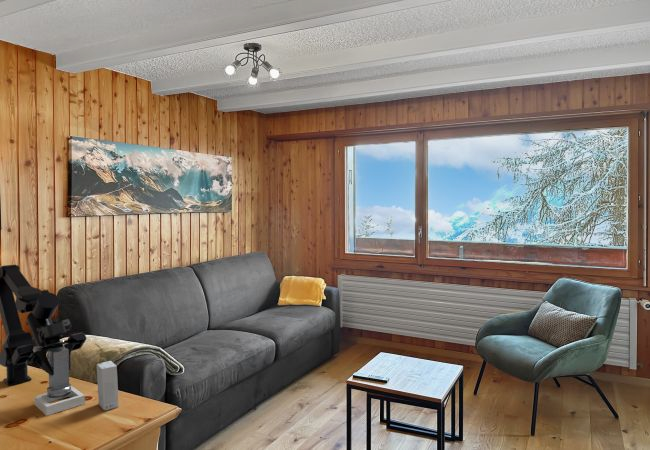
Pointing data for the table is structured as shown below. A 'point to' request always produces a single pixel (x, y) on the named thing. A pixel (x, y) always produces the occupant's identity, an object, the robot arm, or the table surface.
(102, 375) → the skincare box
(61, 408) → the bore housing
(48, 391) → the end cover
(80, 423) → the table surface
